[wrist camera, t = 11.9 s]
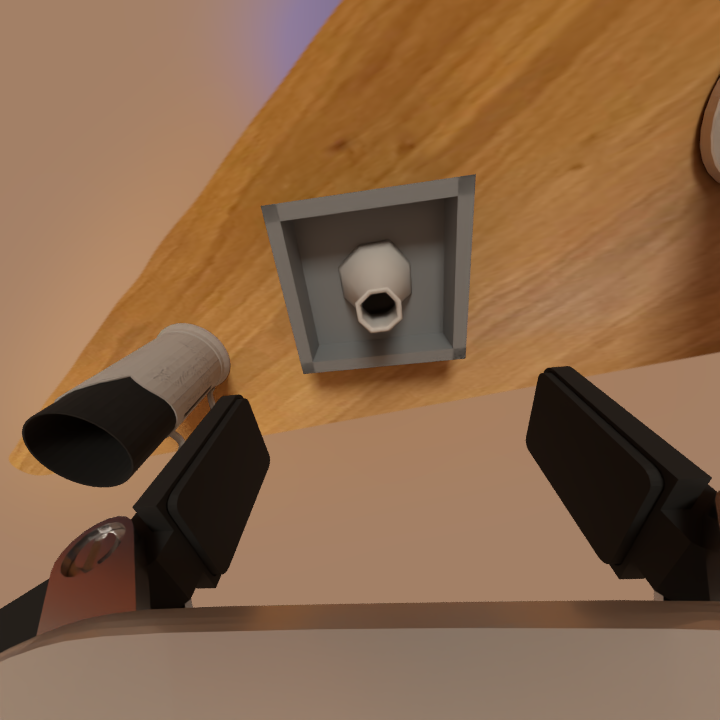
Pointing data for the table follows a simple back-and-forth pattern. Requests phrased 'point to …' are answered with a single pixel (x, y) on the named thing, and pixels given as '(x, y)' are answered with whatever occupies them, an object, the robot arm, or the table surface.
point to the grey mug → (128, 408)
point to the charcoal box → (366, 225)
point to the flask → (376, 284)
